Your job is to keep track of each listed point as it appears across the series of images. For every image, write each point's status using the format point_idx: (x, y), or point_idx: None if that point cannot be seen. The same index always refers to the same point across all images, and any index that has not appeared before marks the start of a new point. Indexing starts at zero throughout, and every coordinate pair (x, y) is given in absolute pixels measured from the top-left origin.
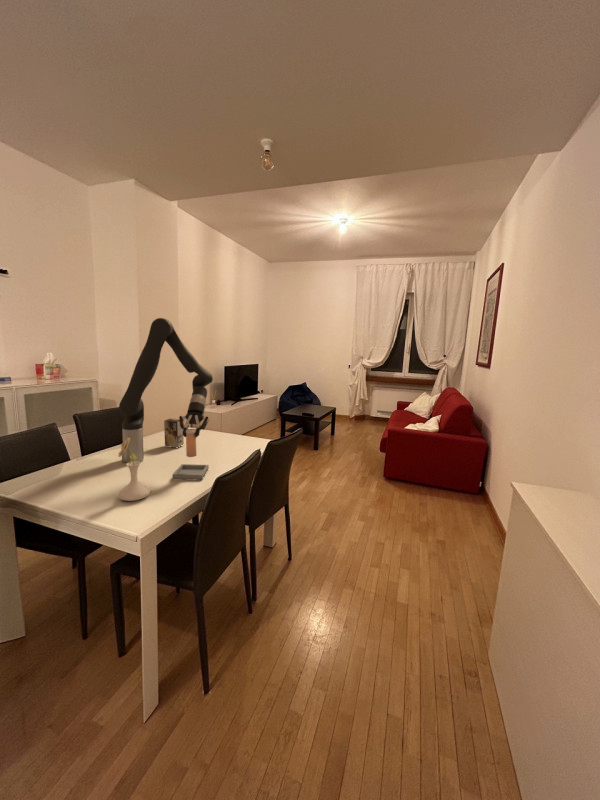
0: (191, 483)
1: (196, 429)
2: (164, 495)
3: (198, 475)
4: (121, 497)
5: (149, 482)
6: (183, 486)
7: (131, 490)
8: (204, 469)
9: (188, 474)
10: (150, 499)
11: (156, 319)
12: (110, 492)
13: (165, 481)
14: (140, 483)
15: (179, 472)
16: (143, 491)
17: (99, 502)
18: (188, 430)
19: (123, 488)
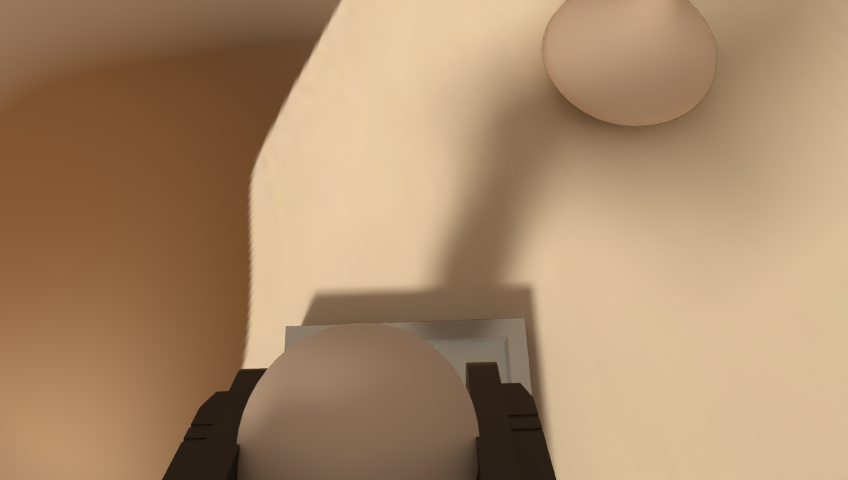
0: (359, 272)
1: (222, 461)
2: (466, 98)
3: (315, 327)
4: None
5: (657, 263)
6: (399, 221)
7: None
8: None
9: (396, 326)
10: (520, 51)
11: None
12: (796, 107)
13: (555, 290)
14: (614, 20)
15: None
16: (565, 14)
17: (758, 5)
18: (403, 394)
19: (692, 7)
